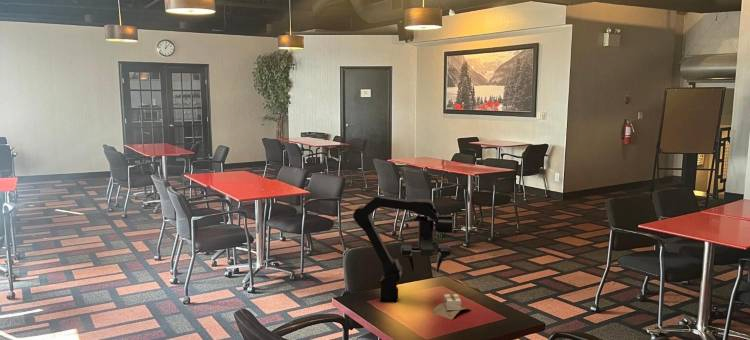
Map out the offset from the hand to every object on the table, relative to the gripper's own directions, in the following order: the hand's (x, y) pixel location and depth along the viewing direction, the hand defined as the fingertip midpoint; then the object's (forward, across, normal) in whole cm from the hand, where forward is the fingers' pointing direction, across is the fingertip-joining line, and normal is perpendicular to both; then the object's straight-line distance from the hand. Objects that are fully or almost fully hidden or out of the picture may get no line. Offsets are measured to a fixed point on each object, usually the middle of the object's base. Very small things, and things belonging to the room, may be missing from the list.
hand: (425, 271), depth 225 cm
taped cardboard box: (+10, +10, -11) cm, 17 cm away
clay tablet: (+13, +9, -10) cm, 19 cm away
